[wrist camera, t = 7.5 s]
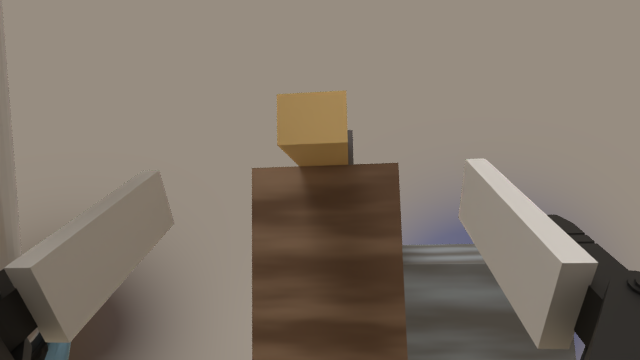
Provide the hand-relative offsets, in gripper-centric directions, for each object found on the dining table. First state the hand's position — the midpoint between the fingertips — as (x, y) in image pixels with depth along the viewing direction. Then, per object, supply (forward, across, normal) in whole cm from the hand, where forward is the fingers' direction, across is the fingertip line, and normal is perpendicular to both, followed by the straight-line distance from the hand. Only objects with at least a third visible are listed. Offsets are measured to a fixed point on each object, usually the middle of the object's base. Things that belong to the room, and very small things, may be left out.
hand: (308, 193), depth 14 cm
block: (+13, 0, -4) cm, 13 cm away
